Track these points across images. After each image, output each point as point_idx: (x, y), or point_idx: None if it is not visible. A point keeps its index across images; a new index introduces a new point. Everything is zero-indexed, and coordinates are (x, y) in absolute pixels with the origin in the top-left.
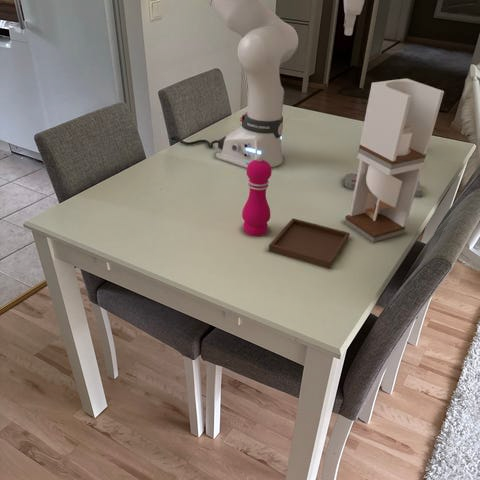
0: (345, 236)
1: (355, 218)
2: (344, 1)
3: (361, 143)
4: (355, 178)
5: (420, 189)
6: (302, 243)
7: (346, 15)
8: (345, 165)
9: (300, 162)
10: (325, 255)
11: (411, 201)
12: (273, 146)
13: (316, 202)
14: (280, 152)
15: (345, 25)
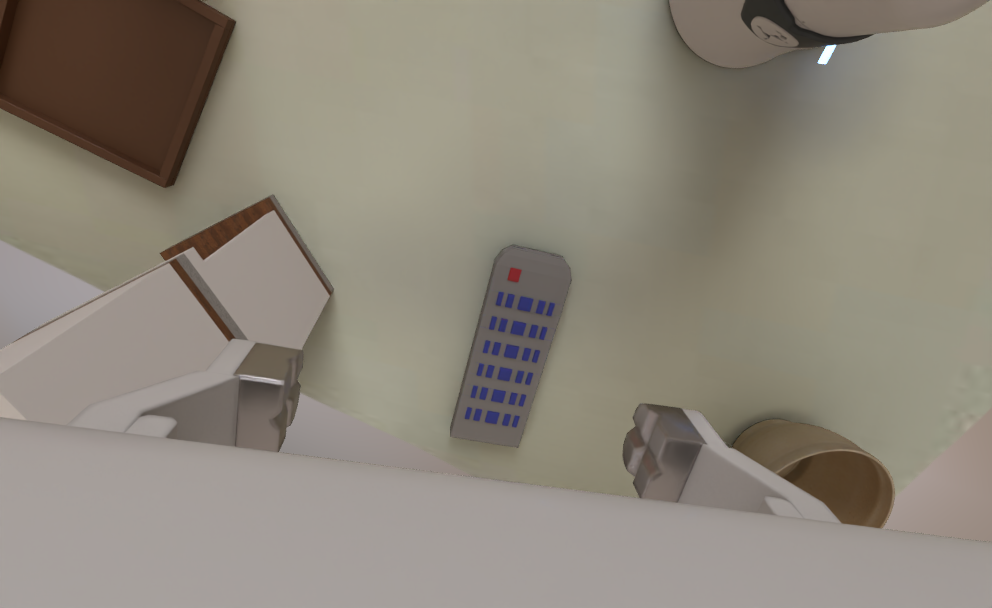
0: (140, 170)
1: (252, 223)
2: (498, 531)
3: (158, 268)
4: (534, 283)
5: (461, 436)
6: (98, 31)
7: (730, 478)
8: (666, 279)
9: (705, 133)
10: (43, 92)
11: None
12: (719, 7)
13: (397, 133)
14: (726, 49)
15: (228, 376)
